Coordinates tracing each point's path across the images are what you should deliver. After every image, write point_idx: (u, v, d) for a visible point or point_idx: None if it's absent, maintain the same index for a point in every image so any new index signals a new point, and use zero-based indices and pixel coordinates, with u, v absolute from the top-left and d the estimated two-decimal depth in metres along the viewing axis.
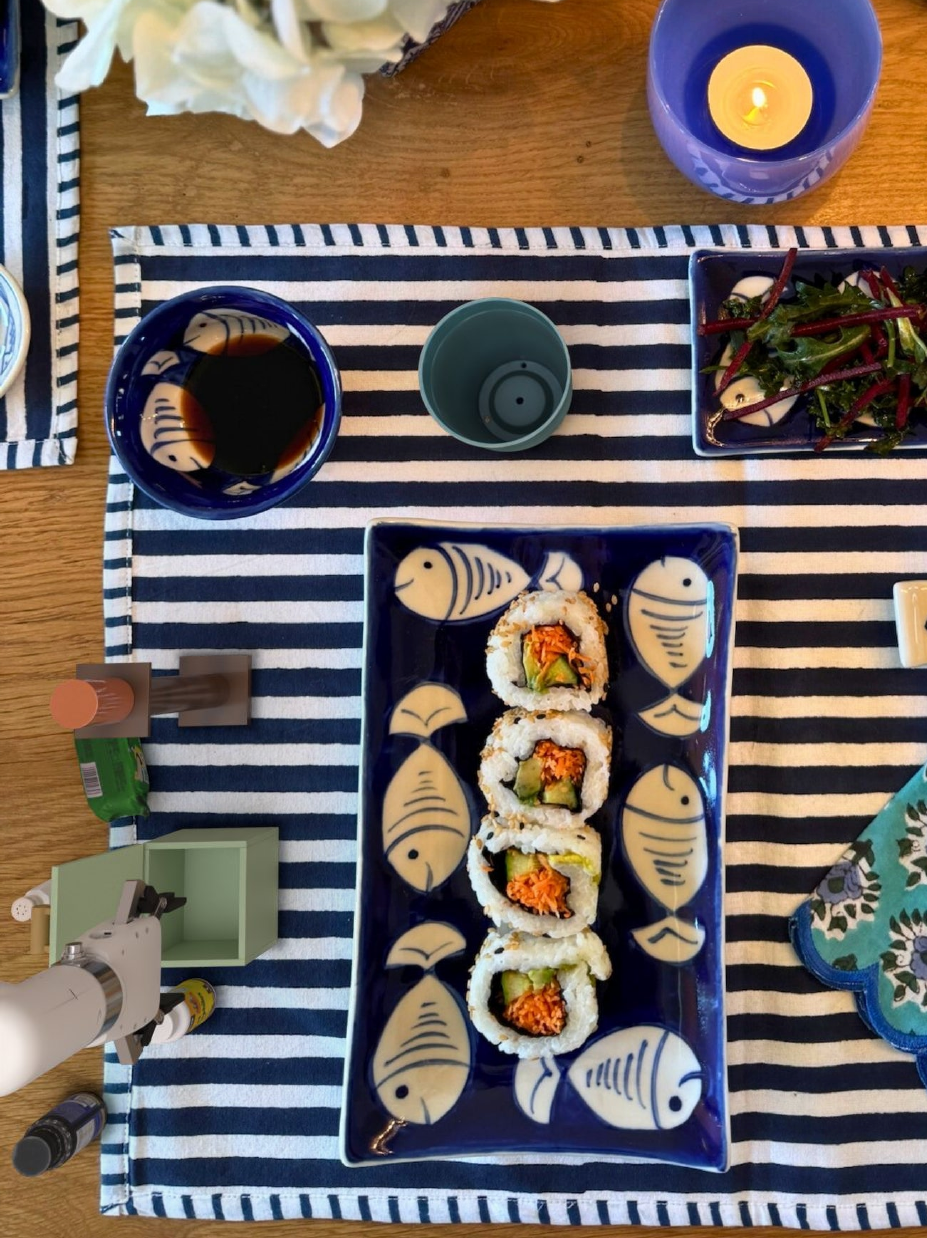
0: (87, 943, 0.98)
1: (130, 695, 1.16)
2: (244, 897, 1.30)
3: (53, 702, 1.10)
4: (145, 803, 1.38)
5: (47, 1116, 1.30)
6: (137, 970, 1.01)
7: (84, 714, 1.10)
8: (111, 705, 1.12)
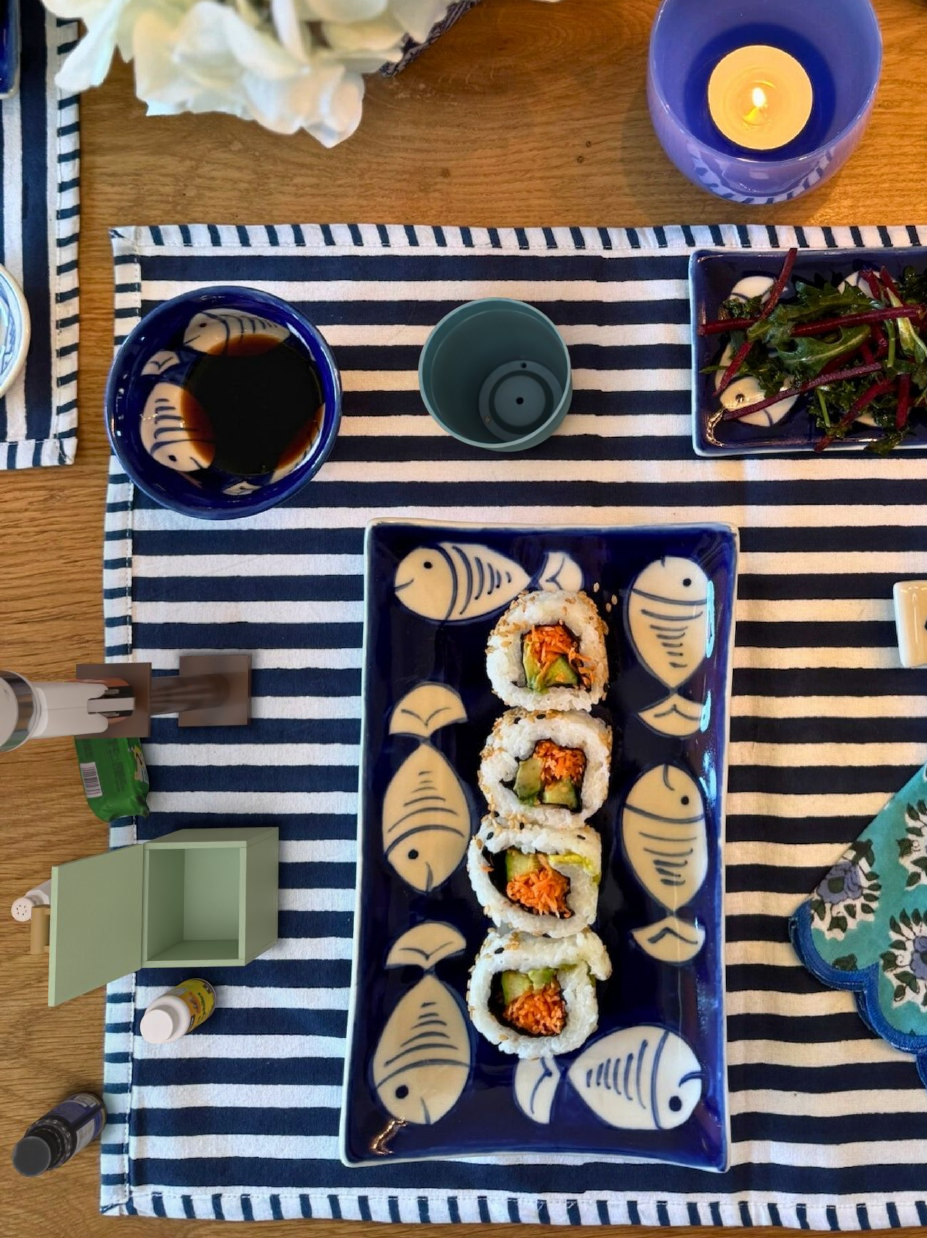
0: None
1: None
2: (244, 897, 1.30)
3: None
4: (145, 803, 1.38)
5: (47, 1116, 1.30)
6: None
7: None
8: None
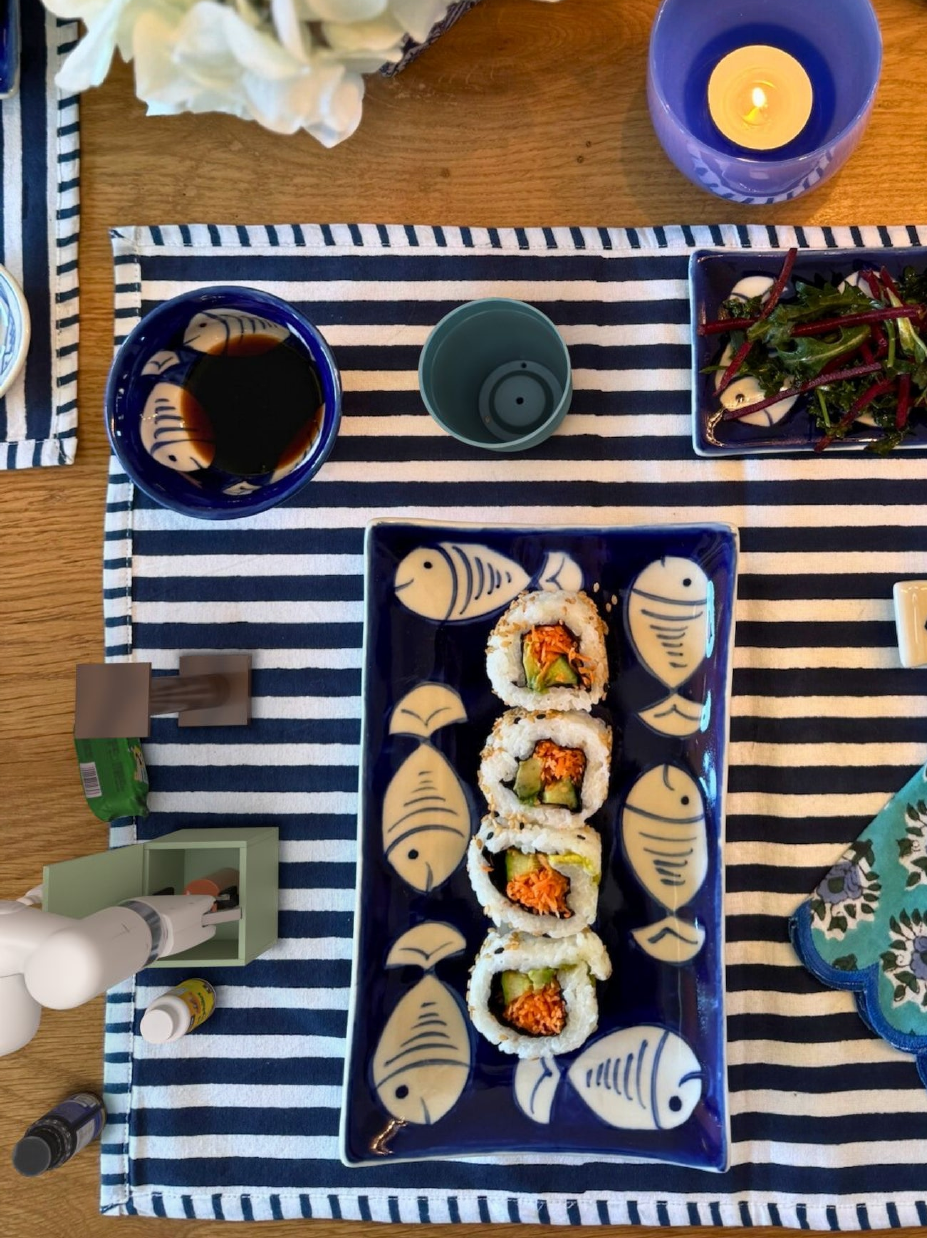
0: None
1: None
2: (244, 897, 1.30)
3: None
4: (144, 803, 1.38)
5: (47, 1116, 1.30)
6: None
7: None
8: None
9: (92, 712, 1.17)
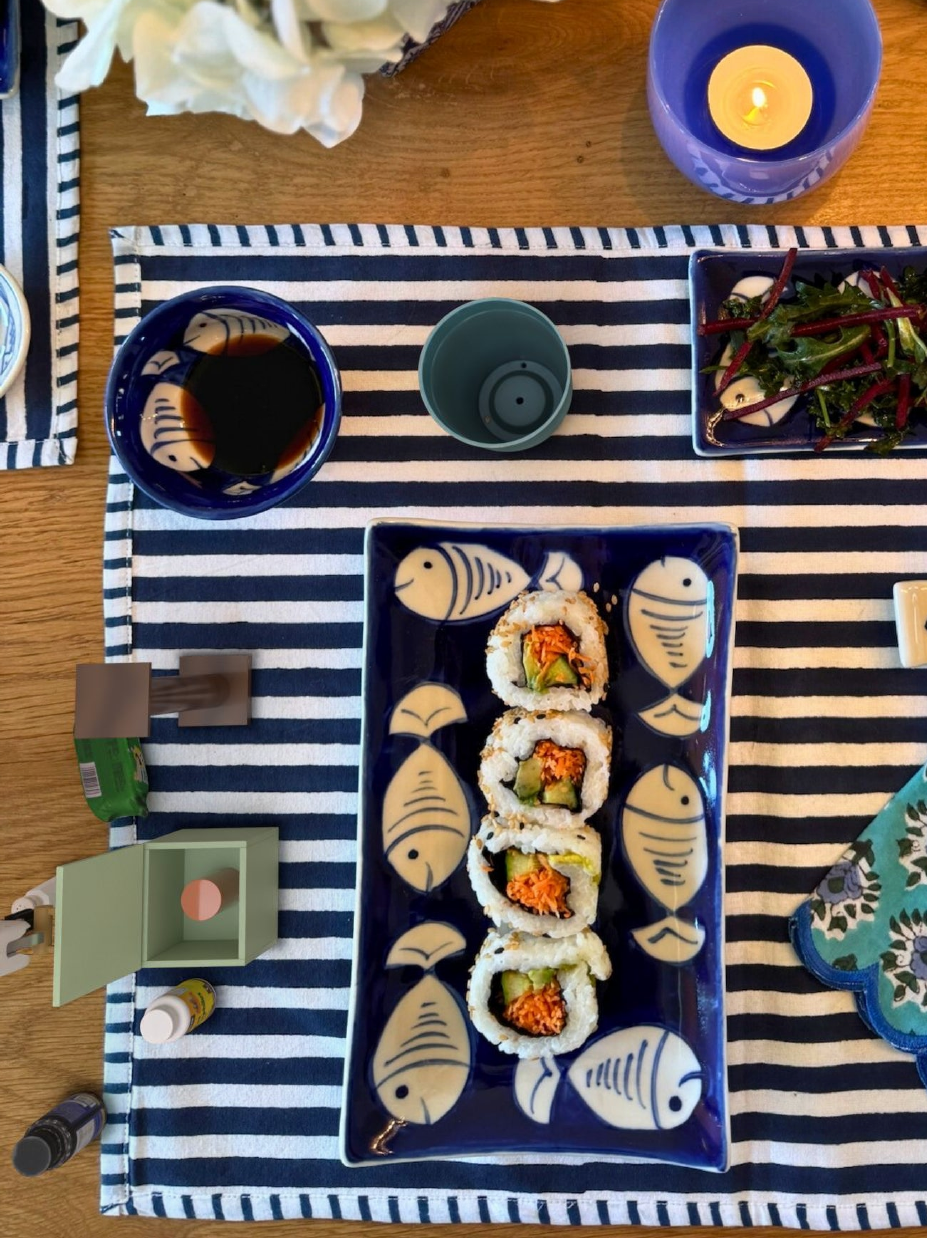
0: None
1: None
2: (244, 897, 1.30)
3: (184, 898, 1.32)
4: (144, 803, 1.38)
5: (47, 1116, 1.30)
6: None
7: (210, 908, 1.32)
8: (230, 897, 1.34)
9: (92, 712, 1.17)
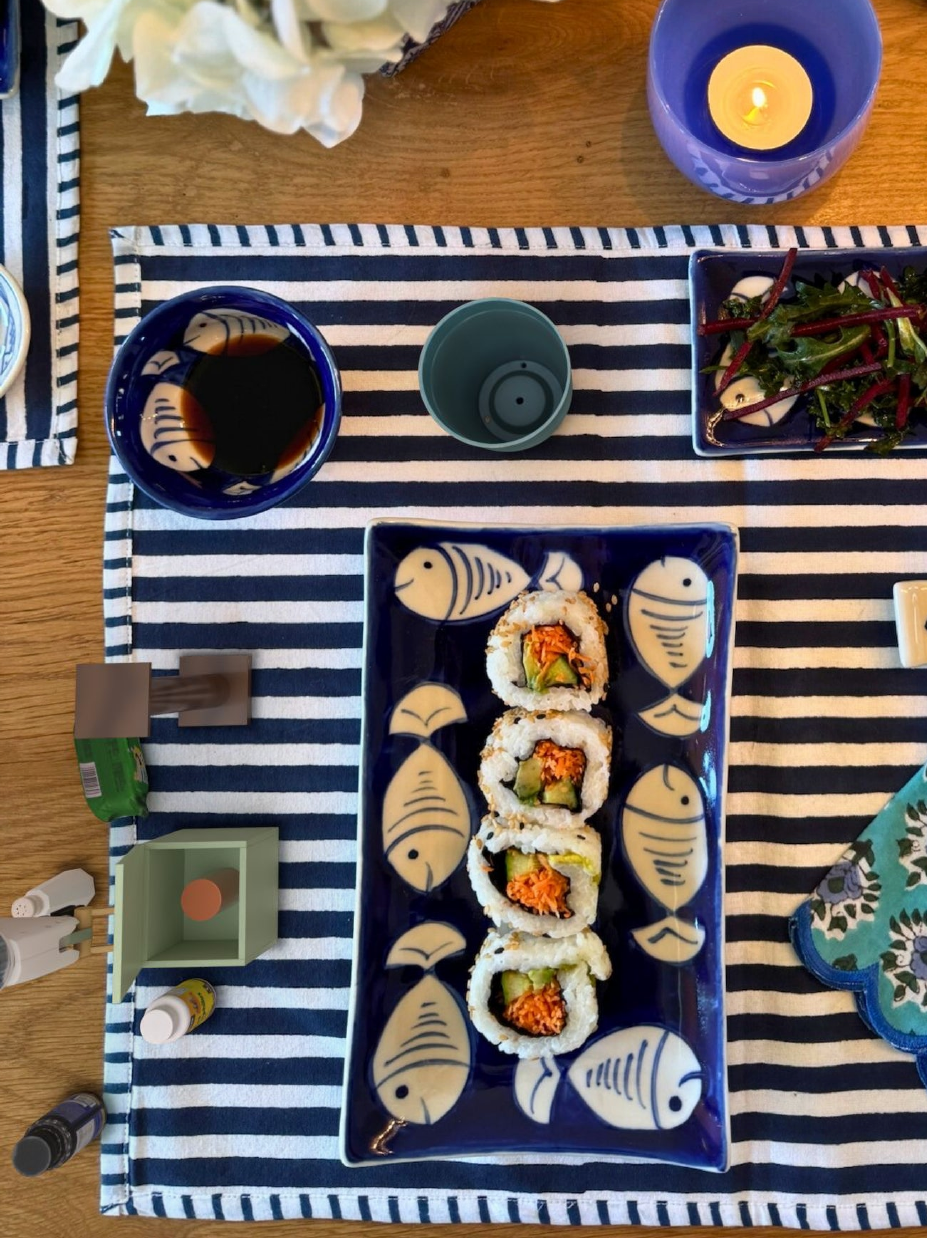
0: None
1: None
2: (244, 897, 1.30)
3: (184, 898, 1.32)
4: (144, 803, 1.38)
5: (47, 1116, 1.30)
6: None
7: (210, 908, 1.32)
8: (230, 897, 1.34)
9: (92, 712, 1.17)
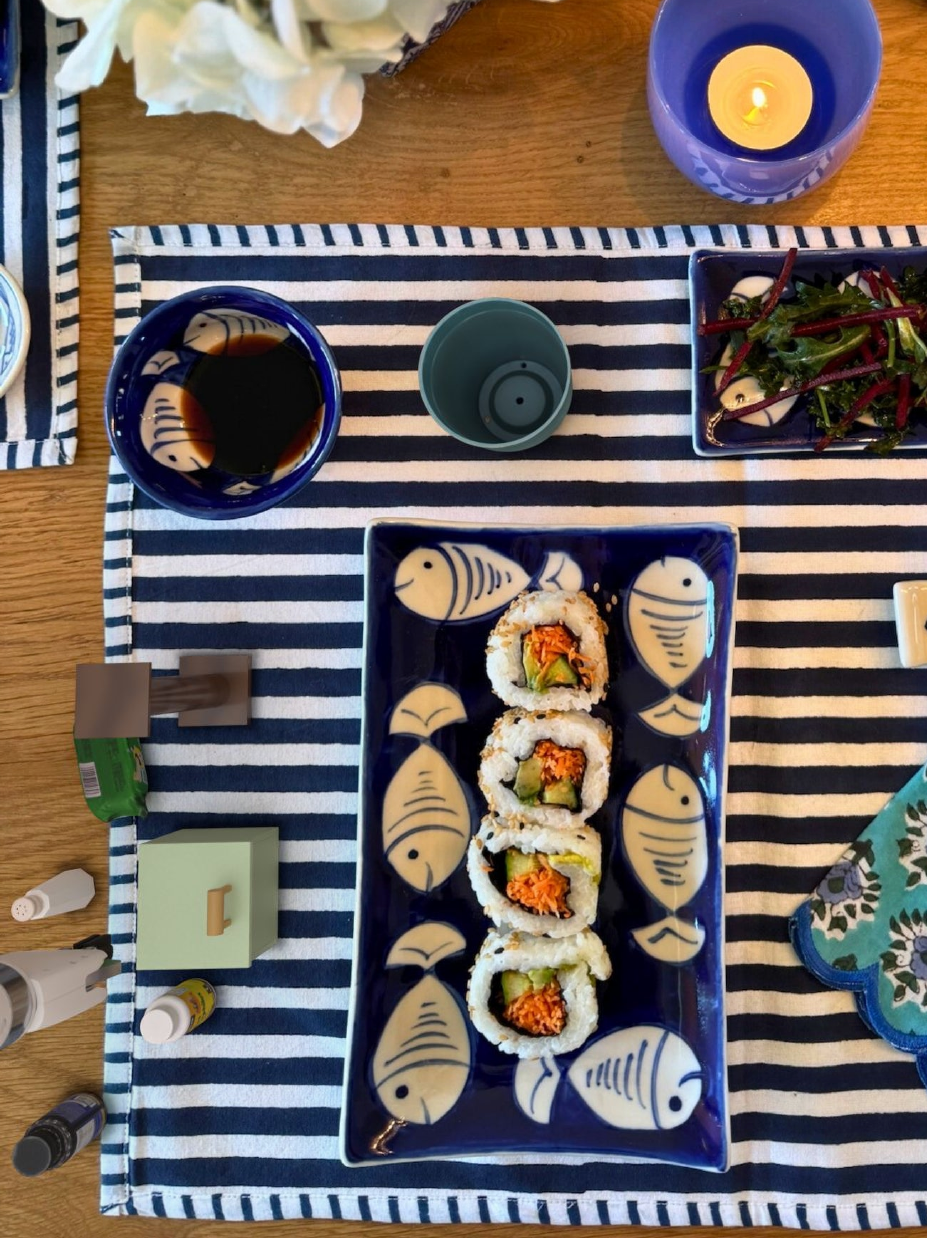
0: None
1: None
2: None
3: None
4: (143, 804, 1.38)
5: (47, 1116, 1.30)
6: (13, 961, 0.98)
7: None
8: None
9: (92, 712, 1.17)
